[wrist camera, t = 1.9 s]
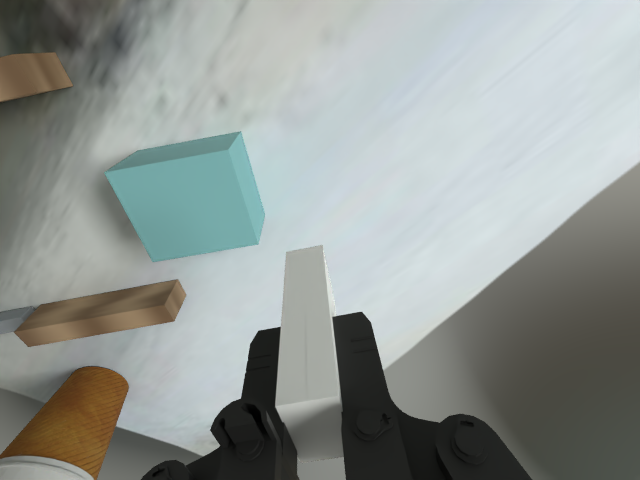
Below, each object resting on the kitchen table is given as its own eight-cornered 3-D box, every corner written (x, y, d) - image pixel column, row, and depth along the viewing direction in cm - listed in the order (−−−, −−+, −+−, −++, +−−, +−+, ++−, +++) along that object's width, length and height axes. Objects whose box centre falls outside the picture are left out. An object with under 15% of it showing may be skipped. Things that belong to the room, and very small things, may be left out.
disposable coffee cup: (42, 386, 38) (-54, 513, 28) (76, 344, 35) (-19, 471, 24) (120, 415, 42) (61, 537, 31) (158, 379, 38) (105, 502, 28)
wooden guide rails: (55, 52, 21) (13, 54, 18) (186, 295, 32) (174, 321, 29) (-140, 98, 22) (-211, 106, 19) (53, 319, 33) (28, 347, 30)
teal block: (241, 130, 24) (228, 149, 20) (265, 213, 28) (258, 244, 23) (138, 149, 24) (104, 172, 20) (175, 228, 28) (152, 262, 24)
